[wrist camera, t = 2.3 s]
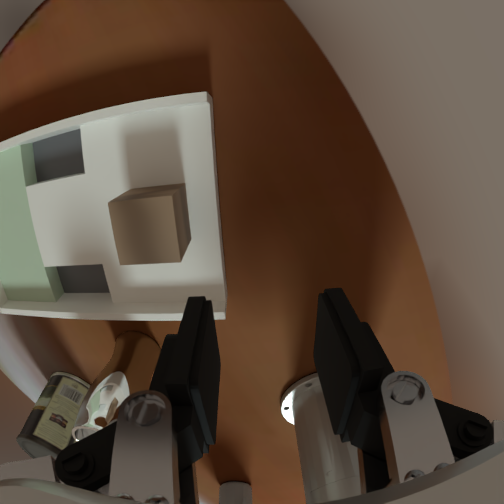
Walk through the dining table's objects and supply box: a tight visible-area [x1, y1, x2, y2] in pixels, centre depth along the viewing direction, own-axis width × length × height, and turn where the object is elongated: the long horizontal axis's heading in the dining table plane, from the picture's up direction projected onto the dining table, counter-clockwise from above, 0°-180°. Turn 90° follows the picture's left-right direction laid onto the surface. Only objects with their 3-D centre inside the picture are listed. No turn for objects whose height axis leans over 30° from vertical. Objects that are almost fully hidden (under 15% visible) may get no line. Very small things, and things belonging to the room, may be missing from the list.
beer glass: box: [72, 331, 161, 442], centre depth 27 cm, size 7×7×15 cm
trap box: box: [0, 92, 227, 321], centre depth 26 cm, size 30×20×4 cm, turn 93°
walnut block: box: [108, 183, 191, 265], centre depth 23 cm, size 5×5×5 cm
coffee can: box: [17, 372, 90, 459], centre depth 32 cm, size 10×10×14 cm
